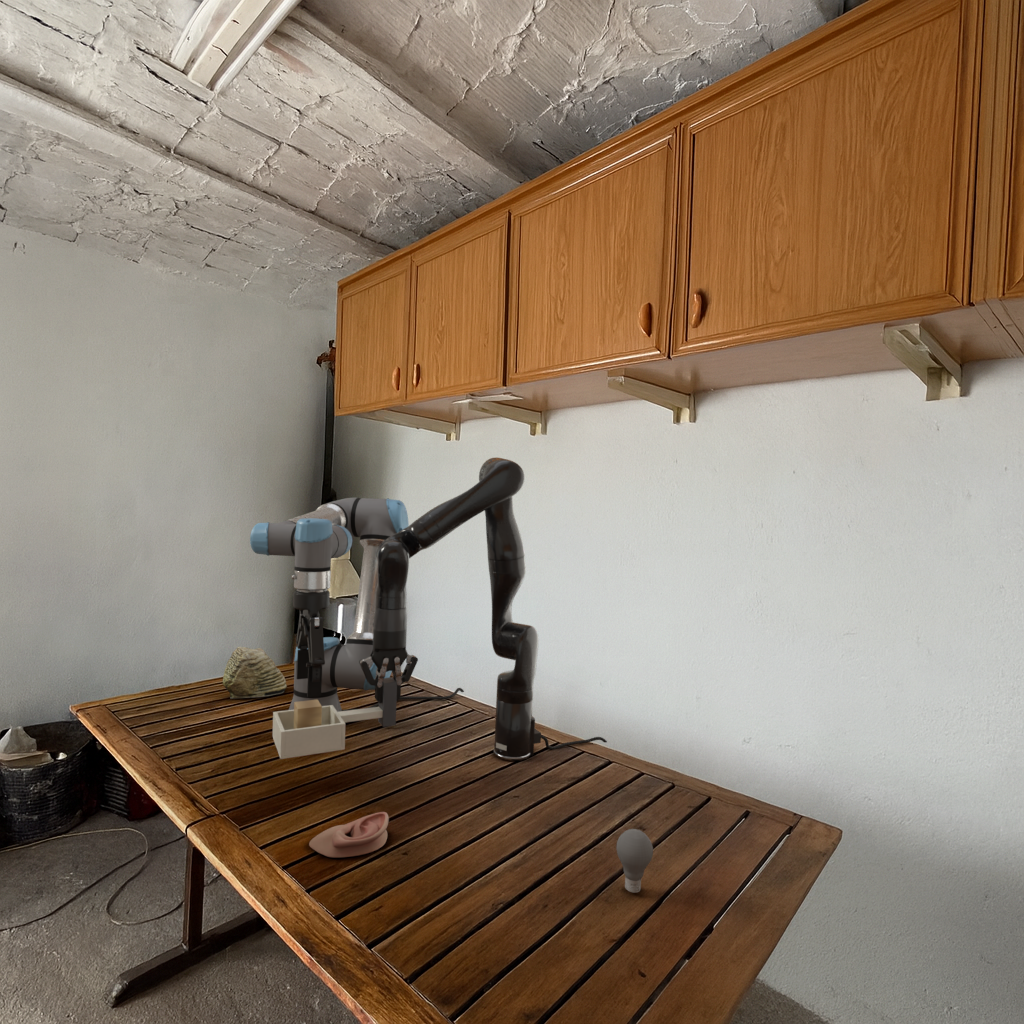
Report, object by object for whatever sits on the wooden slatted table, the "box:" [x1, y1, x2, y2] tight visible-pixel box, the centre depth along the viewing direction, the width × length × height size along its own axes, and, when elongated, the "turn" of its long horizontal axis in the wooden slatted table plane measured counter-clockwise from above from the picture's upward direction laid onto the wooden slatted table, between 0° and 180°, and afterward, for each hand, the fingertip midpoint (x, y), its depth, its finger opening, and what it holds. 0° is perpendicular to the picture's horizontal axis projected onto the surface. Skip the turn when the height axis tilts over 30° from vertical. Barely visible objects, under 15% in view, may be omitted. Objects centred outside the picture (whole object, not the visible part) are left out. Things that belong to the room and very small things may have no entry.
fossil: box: [222, 646, 288, 699], centre depth 198 cm, size 9×18×15 cm, turn 132°
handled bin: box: [272, 676, 397, 760], centre depth 140 cm, size 26×13×12 cm, turn 117°
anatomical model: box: [308, 811, 390, 859], centre depth 117 cm, size 13×4×12 cm
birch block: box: [294, 700, 322, 729], centre depth 137 cm, size 5×5×8 cm
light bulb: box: [615, 828, 654, 894], centre depth 106 cm, size 6×6×10 cm
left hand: (308, 687), depth 138 cm, fingers open, 13 cm apart
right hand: (387, 700), depth 146 cm, fingers closed on handled bin, 3 cm apart
